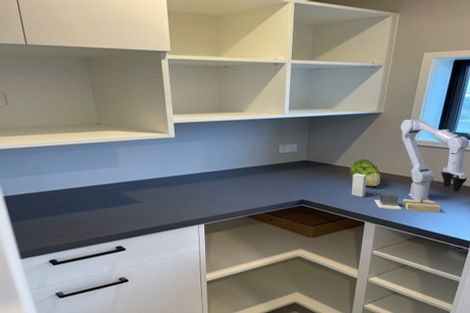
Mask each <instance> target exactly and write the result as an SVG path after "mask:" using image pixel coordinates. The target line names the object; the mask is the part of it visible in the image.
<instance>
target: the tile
mask: <svg viewBox="0 0 470 313" xmlns="http://www.w3.org/2000/svg"><path fill="white" fill-rule="evenodd" d="M374 202H375V203H376V205H377V206H378V208H379V209H388V210H390V209H391V210H402V207H401V206H400V205H399V204H398V203H397V206H389V205H382V204H381V203H380V199H374Z"/></svg>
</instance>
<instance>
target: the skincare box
mask: <svg viewBox="0 0 470 313" xmlns="http://www.w3.org/2000/svg"><path fill="white" fill-rule="evenodd" d="M366 187H367V186H366V175H363V174H357V173H355V174H354V175H353V179H352V188H351V195H352V196H355V197H361V198H363V197H365V196H366Z"/></svg>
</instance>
